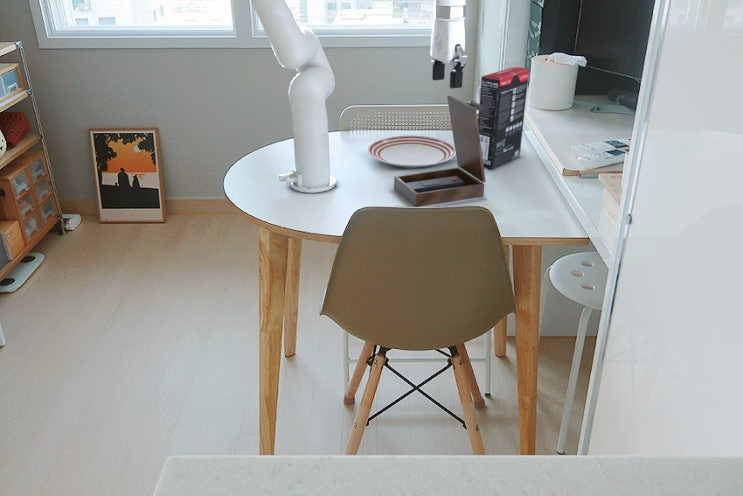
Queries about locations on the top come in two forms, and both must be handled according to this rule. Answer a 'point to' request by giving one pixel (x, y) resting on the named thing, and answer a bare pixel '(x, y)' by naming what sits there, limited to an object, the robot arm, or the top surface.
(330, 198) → the top surface
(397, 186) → the box
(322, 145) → the robot arm
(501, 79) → the graphics card box
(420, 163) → the dinner plate
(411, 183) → the block
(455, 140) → the lid
